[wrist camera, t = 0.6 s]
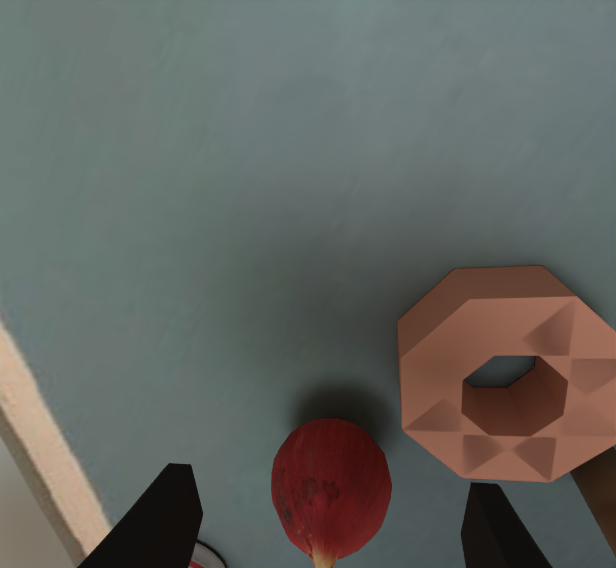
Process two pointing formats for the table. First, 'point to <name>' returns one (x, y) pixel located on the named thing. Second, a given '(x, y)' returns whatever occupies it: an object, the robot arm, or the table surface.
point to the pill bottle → (204, 558)
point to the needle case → (600, 491)
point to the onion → (330, 489)
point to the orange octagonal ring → (522, 393)
